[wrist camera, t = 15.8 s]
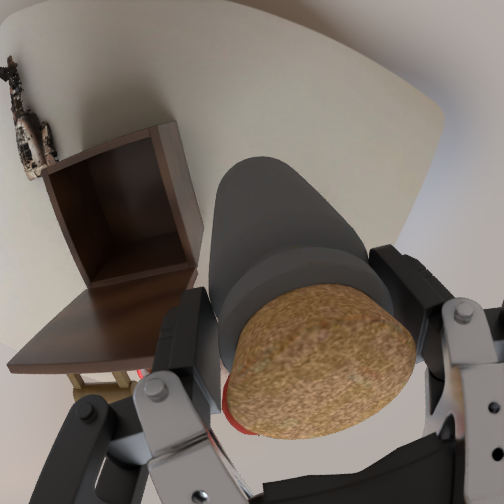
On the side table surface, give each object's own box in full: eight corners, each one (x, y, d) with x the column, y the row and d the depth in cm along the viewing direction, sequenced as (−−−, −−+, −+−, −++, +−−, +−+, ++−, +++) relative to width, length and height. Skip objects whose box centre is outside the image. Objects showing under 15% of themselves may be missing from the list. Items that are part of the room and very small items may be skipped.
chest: (82, 152, 31) (40, 170, 22) (176, 120, 31) (157, 125, 22) (114, 249, 37) (88, 290, 29) (204, 228, 37) (197, 267, 28)
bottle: (198, 186, 19) (144, 378, 6) (277, 138, 18) (417, 236, 5) (245, 254, 21) (275, 464, 8) (318, 212, 20) (443, 387, 7)
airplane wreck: (30, 45, 23) (6, 41, 18) (64, 163, 31) (41, 173, 26) (1, 68, 23) (-23, 67, 18) (34, 181, 32) (11, 193, 27)
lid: (5, 364, 14) (40, 418, 16) (159, 355, 14) (190, 422, 15) (85, 289, 28) (102, 331, 29) (196, 266, 28) (209, 314, 29)
